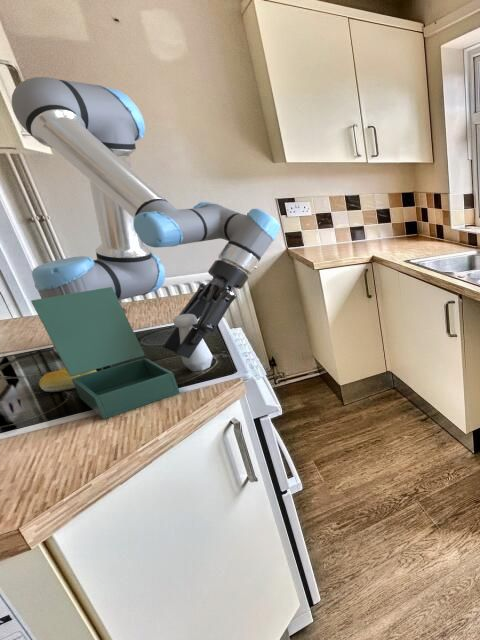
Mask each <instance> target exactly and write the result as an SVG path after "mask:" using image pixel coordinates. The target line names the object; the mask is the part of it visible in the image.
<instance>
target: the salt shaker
mask: <svg viewBox="0 0 480 640" xmlns="http://www.w3.org/2000/svg"><path fill="white" fill-rule="evenodd" d="M172 320H173V325H174V326H175V328H176V327H179V334H180V345H181V343H182V342H183V340H184V339H185V337H186V336H187V334H188V333H189V331H190V330H191V329H192V325H193V324H197V323H198V321H199V320H197V318H196V316H195V315H194V314H182V315H179V314H178V315H176V316H174V318H173V319H172ZM193 328H194V327H193ZM196 329H197V328H196ZM213 357H214V355H213V354H212V352H211V351H210V348H209V347H208V345H207V343H206V342H205V339H204V337H203V338H202V340H201V341H200V343H199V344H198V346H197V347H196V349H195V350H194V352H193V353H192V355H191V356H190V358H189V359H188V358H186V357H183V356H181V362H182V363H183V365H184V366H185V367H186V368H187V369H188V370H189V371H192V372H199V371H204V370H206V369H209V368H211V365H212V361H213Z"/></svg>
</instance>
